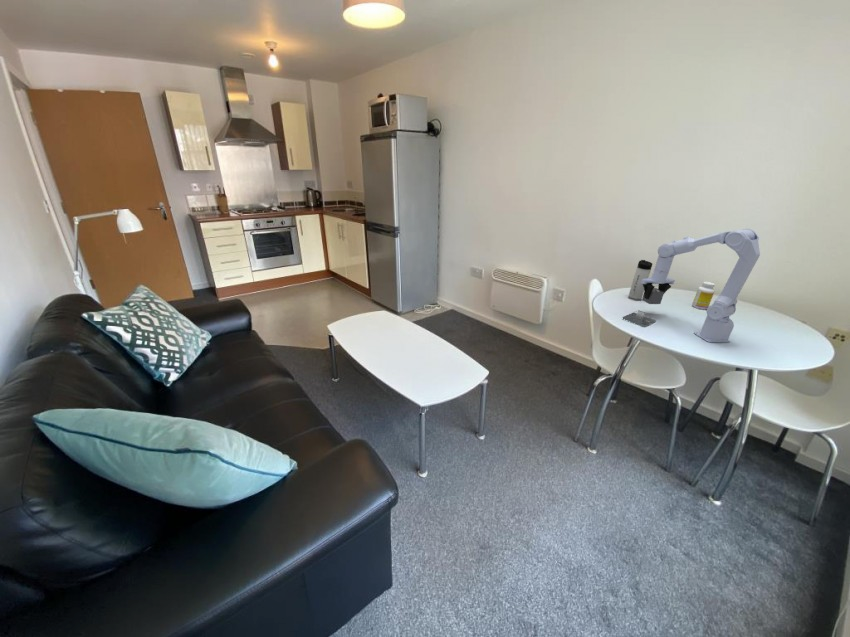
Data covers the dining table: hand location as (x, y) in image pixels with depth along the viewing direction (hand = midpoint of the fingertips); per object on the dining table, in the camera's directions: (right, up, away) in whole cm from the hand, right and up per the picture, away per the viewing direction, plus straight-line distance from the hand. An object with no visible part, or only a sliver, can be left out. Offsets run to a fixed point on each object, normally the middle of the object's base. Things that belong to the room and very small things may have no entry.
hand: (652, 298), depth 164 cm
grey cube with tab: (0, -2, +1) cm, 2 cm away
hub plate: (-9, -10, -4) cm, 14 cm away
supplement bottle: (+33, -4, +14) cm, 36 cm away
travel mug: (+5, +1, +22) cm, 23 cm away
